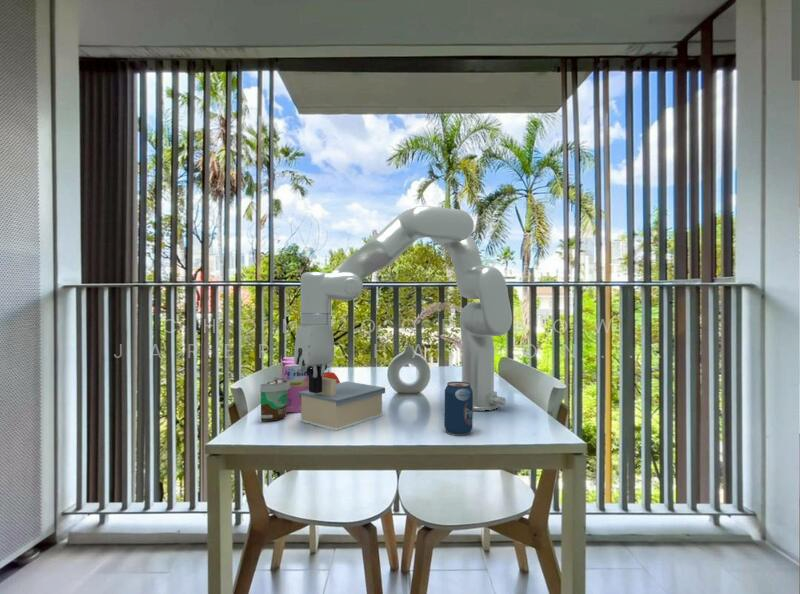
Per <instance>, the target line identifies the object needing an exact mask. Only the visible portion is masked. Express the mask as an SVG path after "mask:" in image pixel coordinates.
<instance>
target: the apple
mask: <svg viewBox="0 0 800 594" xmlns="http://www.w3.org/2000/svg"><path fill="white" fill-rule="evenodd" d="M322 377H324V378H330V379H336V384H337V383H341V381H340V379H339V377H338V375H337V374H336V373H335V372H333V371H332V372H331V371H329V369H328V371H325V372H324V376H322Z"/></svg>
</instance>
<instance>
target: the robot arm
mask: <svg viewBox="0 0 800 594" xmlns="http://www.w3.org/2000/svg"><path fill="white" fill-rule="evenodd" d="M473 219H474V218H473V217H472V215H470V214H469V212H467V211H465V210H462V209H458V208H449V207H441V206H440V207H438V206H430V205H429V206H428V205H418V206H415V207H413V208H409V209H406V210H404V211H402V212H401V213H400V214H398V215H397V216H396V217H395V218H394V219H393V220H392V221H390V222H389V223H388V224H387V225H386V226H385V227H384V228H383V229H382V230H380V231H379V232H378V233H377V234H376V235H375V236H374V237H373V238H371V239H370V240H369V241H368V242H367V243H365V244H363V246H361V247H360V248H359V249H358V250H356V251H355V252H354V253H353V254H351V255H350V256H349V257H347V258H346V259H345V260H344V261H343V262H342V263H340V264H339V265H338V266H337V267H336V268H334V270H332V271H331V272H330V273H328V272H324V271H307V272H303V273H302V274H301V276H300V325H298V326H297V330H296V335H295V342H294V354H293V357H294V362H295V364H297V365H298V371H303V372H305V373H306V374H307V376H308V377H309V392H312V393H320V392H322V376H324V372H326V371H327V369H329V368H331V367H332V366H333V362H334V360H335V340H334V338H335V337H334V332H333V326H332V325H331V321H332V319H333V316H332V315H331V300H335V301H343V302H345V301H353V300H356V298H358V297H360V295H361V294H362V292H363V289H364V283H363V280H364V279H366V278H367V277H369V276H370V275H372V274H373V273H375V272H378V271H380V270H382V269H385V268H386V267H388V266H390V265H391V264H392V263H394V262H395V261H396V260H397V259H398V258H399V257H400V256H401V255H402V254H403V253H404V252H405V251H406V250H407V249H408V248H409V247H411V246H412V245H413V244H414V243H415V242H416V241H417V240H420V239H424V238H430V239H431V241H433V242H434V243H436V244H438V245H439V246H441V247H443V248H444V249H445V250H446V251H447V253H448V254H449V256H450V260H451V263H452V268H453V272H454V276H455V282H456V287H457V290H458V293H459V294H460V296H461V297H463V298H465V299H470V300H471V299H472V300H479V301H477V302H475V301H474V302H470V303H468V304H467V305H464V307H463V308H462V309H461V311H460V314H459V325H460V326H459V327H460V332H461V342H462V343H461V344H462V347H461V348H462V356H461V358H462V359H461V360H462V363H461V364H462V369H461V371H462V372H461V374H462V376H461V377H462V378H461V380H462V381H461V382H467V383H470V387H471V389H472V391H473V412H474V411H476V412H478V411H479V412H483V411H484V412H486V411H485V410H489V411H494V410H493V409H495V410H497V409H498V408H499V407H500V405H501V406H505V405H506V404H507V399H506V397H503V396H498V391H494V389H495V346H494V341H493V338H492V337H500V336H501V337H502V336H504V335H505V334H507V333H508V332H509V331H510V330H511V326H512V322H513V313H512V309H511V308H512V307H511V302H510V297H509V293H508V291H509V290H508V287H507V283H506V280H505V277H504V275H503V274H502V272H501V271H500V270H499V269H498V268H496V267H493V266H488V265H483V263H482V262H483V261H482V258H481V257H482V256H481V255H480V251H479V248H478V244H477V243H476V241H475V239H474V238H473V237H472V236H471V235H472V234H473V231H474V228H475V224H474V220H473ZM305 365H306V366H305ZM496 408H497V409H496Z"/></svg>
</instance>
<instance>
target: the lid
mask: <svg viewBox="0 0 800 594" xmlns="http://www.w3.org/2000/svg"><path fill="white" fill-rule="evenodd" d="M380 394H382V395H384V394H386V387H385V386H383V387H382V386H378V385H377V386H376V385H372V384H365V383H359V382H354V381H343V382H340V383H337V384H336V379H330V378H324V377H322V392H320V393H312V392H309V390H306V391H301V392H298V398H301V395H302V396H307V397H312V398H316V399H321V400H326V401H331V402H336V406H341V405H344V404H348V403H351V402H355V401H359V400H362V399H366V398H369V397H373V396H377V395H380Z"/></svg>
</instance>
